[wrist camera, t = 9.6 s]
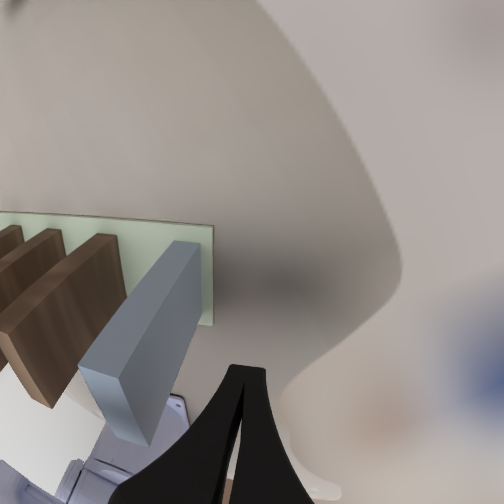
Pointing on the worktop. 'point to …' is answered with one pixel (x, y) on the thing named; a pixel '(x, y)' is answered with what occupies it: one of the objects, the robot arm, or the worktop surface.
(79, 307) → the domino
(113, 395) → the domino
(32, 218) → the mat
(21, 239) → the domino
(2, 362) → the domino
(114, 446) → the robot arm
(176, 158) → the worktop surface
